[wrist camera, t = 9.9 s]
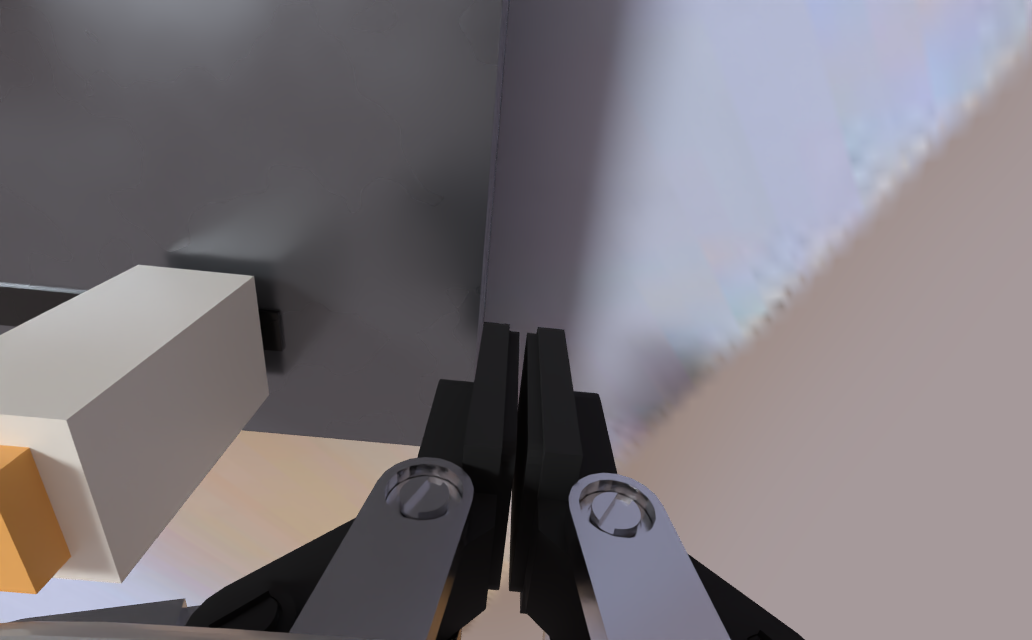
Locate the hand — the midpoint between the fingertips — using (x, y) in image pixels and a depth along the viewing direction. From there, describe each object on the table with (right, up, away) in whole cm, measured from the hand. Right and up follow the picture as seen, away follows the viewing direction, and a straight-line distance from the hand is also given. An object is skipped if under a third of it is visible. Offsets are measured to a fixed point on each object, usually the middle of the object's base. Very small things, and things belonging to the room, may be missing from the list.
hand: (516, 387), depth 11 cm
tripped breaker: (-7, +1, +1) cm, 7 cm away
